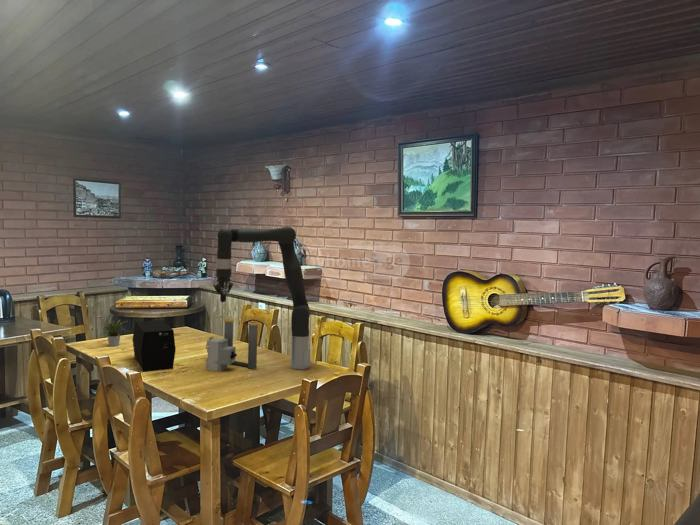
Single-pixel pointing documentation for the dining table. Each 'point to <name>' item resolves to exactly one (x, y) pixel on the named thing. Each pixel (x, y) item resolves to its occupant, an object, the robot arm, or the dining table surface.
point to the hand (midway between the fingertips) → (223, 301)
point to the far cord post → (229, 331)
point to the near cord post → (252, 345)
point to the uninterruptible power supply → (154, 345)
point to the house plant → (113, 334)
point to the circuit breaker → (219, 354)
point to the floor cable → (240, 363)
